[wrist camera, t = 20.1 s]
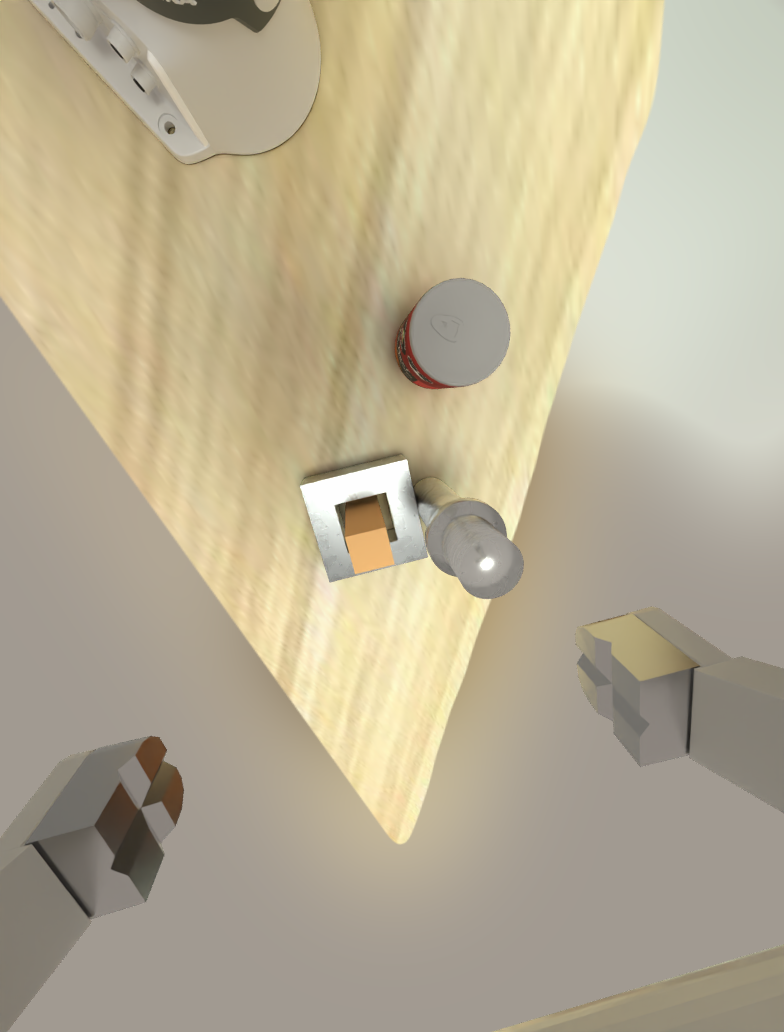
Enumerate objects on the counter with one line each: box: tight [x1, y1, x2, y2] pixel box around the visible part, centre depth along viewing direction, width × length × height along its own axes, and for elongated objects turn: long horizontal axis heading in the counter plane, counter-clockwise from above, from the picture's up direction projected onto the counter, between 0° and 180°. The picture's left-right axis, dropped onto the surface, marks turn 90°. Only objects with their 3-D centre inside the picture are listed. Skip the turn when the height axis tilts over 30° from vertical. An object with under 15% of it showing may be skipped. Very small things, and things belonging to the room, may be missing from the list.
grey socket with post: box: [300, 454, 524, 599], centre depth 35 cm, size 16×11×20 cm
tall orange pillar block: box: [345, 495, 395, 574], centre depth 39 cm, size 4×4×12 cm
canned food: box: [395, 278, 510, 389], centre depth 35 cm, size 8×8×11 cm
